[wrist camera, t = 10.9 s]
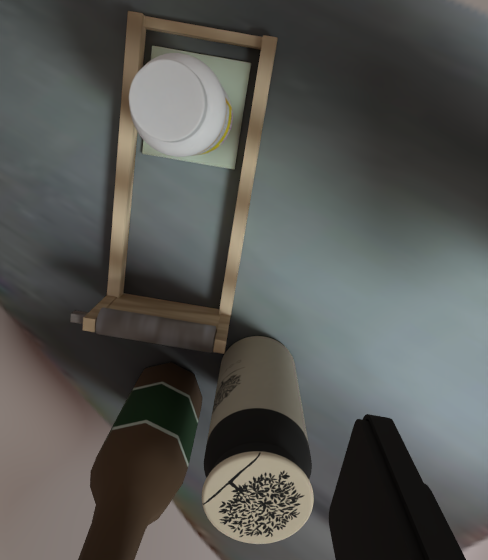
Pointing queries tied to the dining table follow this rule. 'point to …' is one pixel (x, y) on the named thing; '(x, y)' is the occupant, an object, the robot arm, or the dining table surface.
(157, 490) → the beer bottle
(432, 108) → the dining table surface
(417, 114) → the dining table surface
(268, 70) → the frame
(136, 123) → the supplement bottle
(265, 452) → the travel mug
